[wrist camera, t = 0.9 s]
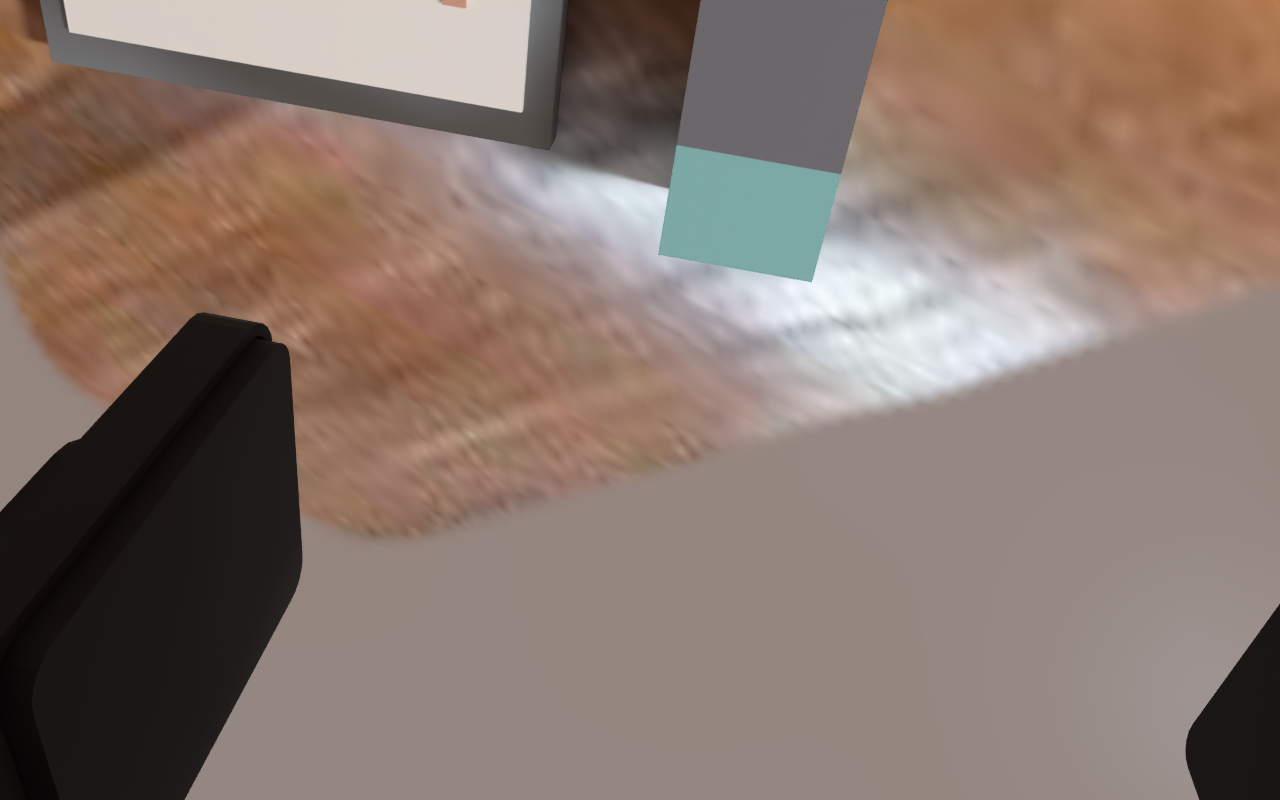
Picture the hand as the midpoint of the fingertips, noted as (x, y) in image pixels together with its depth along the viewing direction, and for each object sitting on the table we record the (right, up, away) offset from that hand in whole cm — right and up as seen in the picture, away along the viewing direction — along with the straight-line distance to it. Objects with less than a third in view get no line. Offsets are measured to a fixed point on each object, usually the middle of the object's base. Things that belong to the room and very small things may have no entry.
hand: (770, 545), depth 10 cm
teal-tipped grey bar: (+3, +12, +17) cm, 21 cm away
